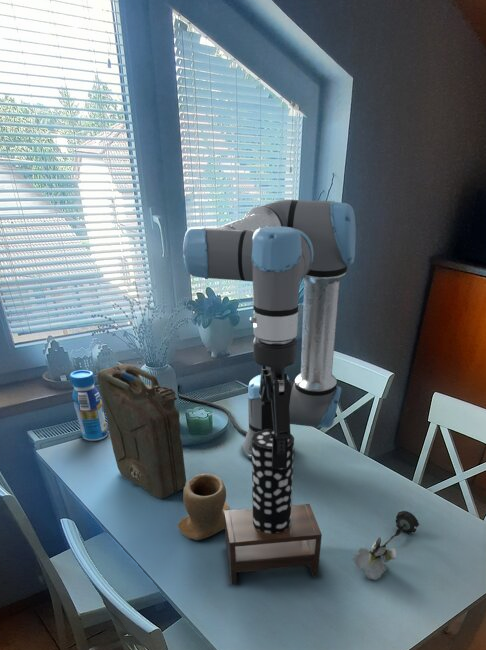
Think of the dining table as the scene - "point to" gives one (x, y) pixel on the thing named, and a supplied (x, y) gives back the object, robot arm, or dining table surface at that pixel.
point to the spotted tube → (270, 485)
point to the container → (143, 429)
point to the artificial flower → (384, 548)
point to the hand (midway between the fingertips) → (273, 450)
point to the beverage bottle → (88, 406)
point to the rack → (272, 542)
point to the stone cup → (204, 507)
